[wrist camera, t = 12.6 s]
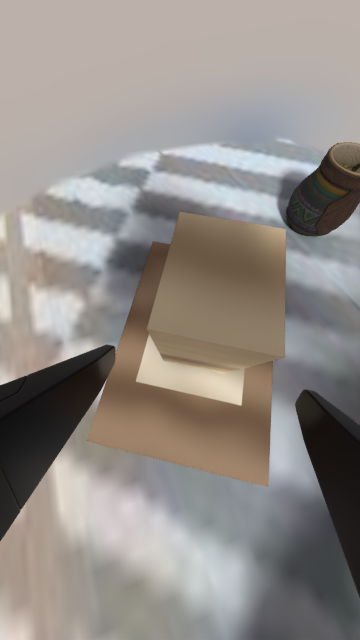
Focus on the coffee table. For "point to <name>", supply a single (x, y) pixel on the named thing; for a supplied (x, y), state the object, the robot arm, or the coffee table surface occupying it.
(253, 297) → the tan rectangular block
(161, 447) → the loading dock
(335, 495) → the robot arm
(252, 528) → the coffee table surface
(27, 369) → the coffee table surface
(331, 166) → the mate gourd
